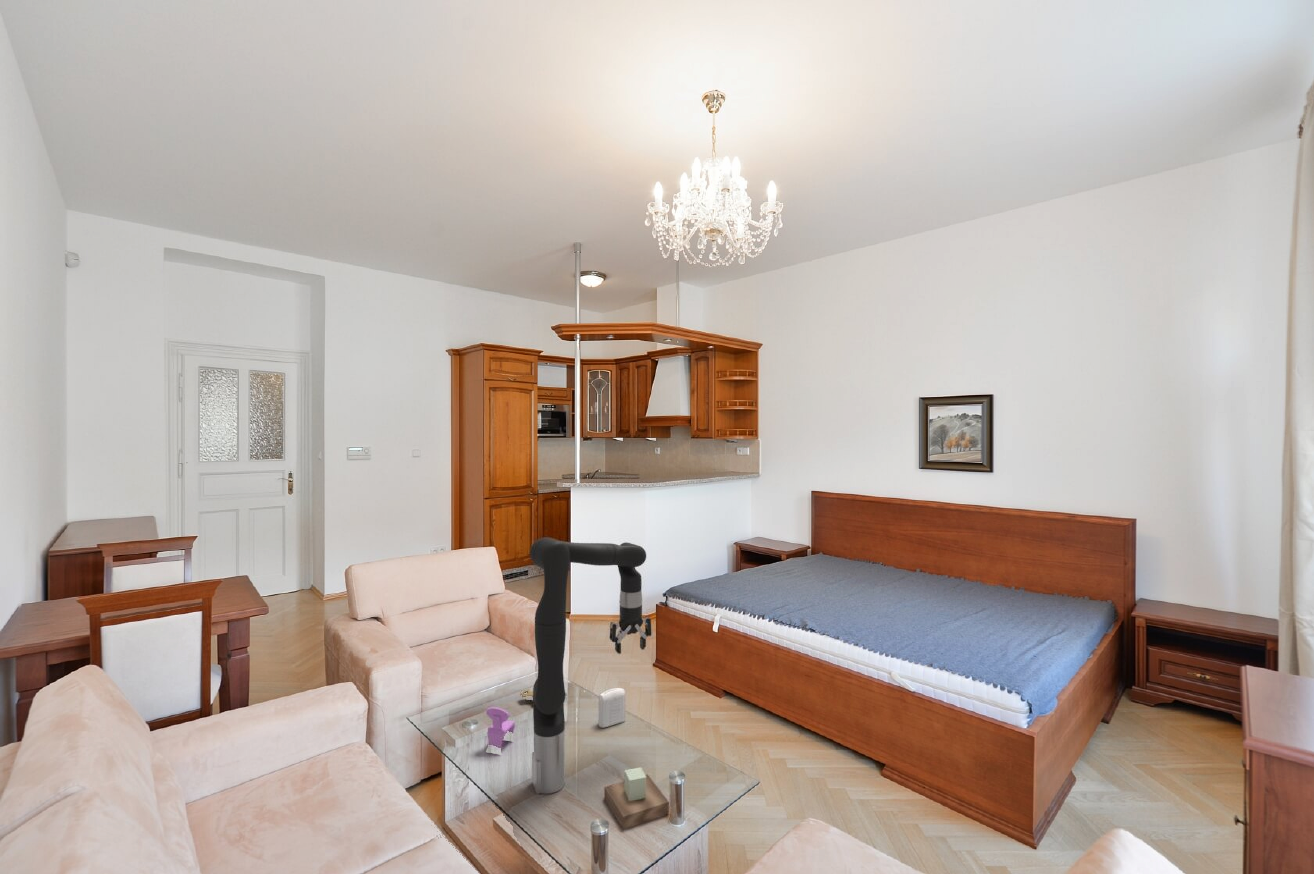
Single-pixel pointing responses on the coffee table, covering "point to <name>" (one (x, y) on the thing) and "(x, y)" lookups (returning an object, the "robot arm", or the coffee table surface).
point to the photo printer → (611, 707)
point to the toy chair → (498, 726)
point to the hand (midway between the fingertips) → (630, 650)
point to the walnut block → (636, 804)
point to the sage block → (635, 784)
